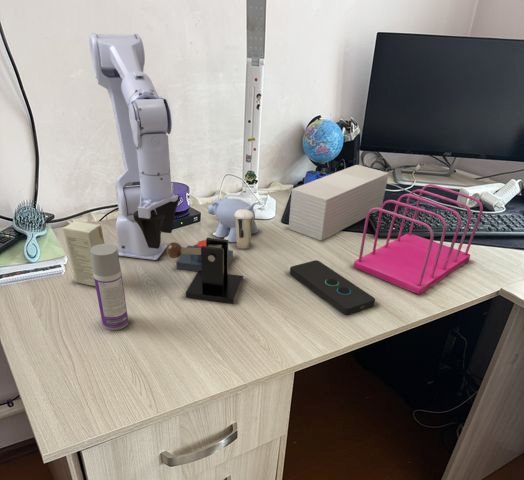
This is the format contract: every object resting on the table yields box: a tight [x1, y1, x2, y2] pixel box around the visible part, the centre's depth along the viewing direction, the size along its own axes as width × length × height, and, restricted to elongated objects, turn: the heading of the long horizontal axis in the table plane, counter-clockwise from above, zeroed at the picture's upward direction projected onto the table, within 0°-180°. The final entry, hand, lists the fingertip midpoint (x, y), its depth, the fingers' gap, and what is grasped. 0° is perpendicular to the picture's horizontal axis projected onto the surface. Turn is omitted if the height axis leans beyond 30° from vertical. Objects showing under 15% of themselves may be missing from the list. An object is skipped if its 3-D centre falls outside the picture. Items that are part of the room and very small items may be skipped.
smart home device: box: [289, 259, 376, 316], centre depth 104 cm, size 8×2×20 cm
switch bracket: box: [185, 237, 244, 304], centre depth 99 cm, size 10×10×10 cm
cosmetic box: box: [62, 220, 105, 287], centre depth 99 cm, size 6×4×12 cm
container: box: [90, 243, 129, 331], centre depth 86 cm, size 5×5×15 cm
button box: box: [176, 243, 234, 272], centre depth 111 cm, size 11×9×4 cm
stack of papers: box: [287, 164, 390, 242], centre depth 134 cm, size 32×11×11 cm, turn 140°
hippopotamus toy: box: [207, 197, 259, 243], centre depth 124 cm, size 11×15×10 cm
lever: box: [166, 241, 223, 259], centre depth 98 cm, size 12×3×3 cm, turn 81°
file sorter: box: [352, 183, 484, 295], centre depth 112 cm, size 17×25×16 cm
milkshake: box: [234, 209, 253, 250], centre depth 117 cm, size 4×5×10 cm
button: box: [196, 239, 206, 248], centre depth 109 cm, size 4×4×2 cm
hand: (160, 239), depth 98 cm, fingers open, 7 cm apart
